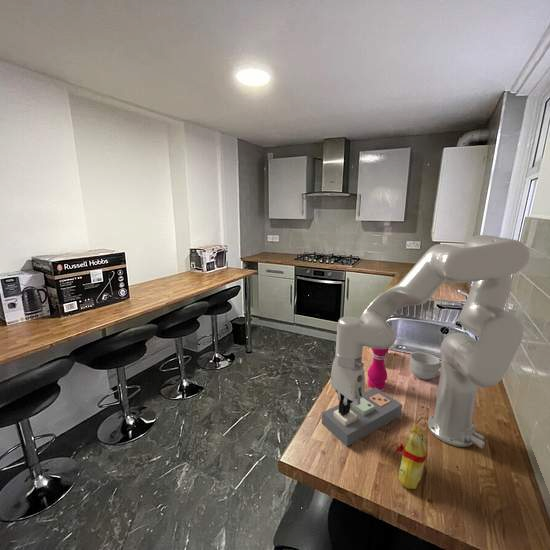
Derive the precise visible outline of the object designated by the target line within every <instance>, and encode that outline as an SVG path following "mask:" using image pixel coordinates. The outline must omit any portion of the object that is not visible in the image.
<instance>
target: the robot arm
mask: <svg viewBox="0 0 550 550" xmlns="http://www.w3.org/2000/svg"><path fill="white" fill-rule="evenodd" d="M530 258H531V256H530V251H529V248H528V247H527V246H526V244H524V243H523V242H521V241H519V240H516V239H513V238H507V237H498V236H496V235H487V234H478V235H473V236H471V237H469V238H468V239H467V240H466V241H465V243H464V245H463V247H459V246H457V245H452V244H448V243H438V244H435V245H432V246H431V247H430V248H429V249H428V250H426V252H425V253H424V254H423V255H422V256H421V257H420V258H419V259H418V261H416V263H415V264H414V265H413V267H412V268H411V269H410V270H409V271H408V272H407V274H405V276H404V277H403V278H402V279H401V280H400V281H399V282H398V283H397V284H396V285H394V286H391V287H390V288H388V289H386V291H383V292H382V293H380V294H378V296H377V297H375V298H374V299H373V300H372V301H371V303H369V305H368V306H367V307H366V309H365V310H364V311H363V312H362V313H361V315H360V318H359V317H356V316H351V315H350V316H348V315H346V316H342V317H340V318H339V319H338V321H337V327H336V344H335V355H334V358H333V360H332V361H333V362H332V365H331V372H330V385H331V386H332V389H333V390H334V391H335V393H336V394H337V400H338V401H339V402H338V405H339V413H340V414H341V415H342V416H343V415H345V414H347V413H349V412H350V403H353V404H354V405H356V406H357V405H359V404H360V397H364V392H366V391H365V387H366V377H365V370H364V368H365V367H364V362H362V361H363V351H364V350H363V349H364V348H363V347H367V348H370V349H371V348H375V349H387V348H389V349H390V348H391V347H392V346H393V345H394V344H396V343H395V342H396V339H397V336H396V332H395V331H394V329H393V327H392V325H390V324H389V322H388V319H390V318H391V317H392V315H394V314H395V313H396V312H397V311H399V310H401V309H402V308H406V307H411V306H412V307H413V306H421V305H425V304H426V303H427V302H428V301H429V300H430V298H432V297H433V296H434V294H435V293H436V292H437V291H438V290H439V289H440V288H441V287H442V286H443V284H445V282H447V281H449V282H451V283H455V284H457V283H459V284H460V283H461V284H462V283H463V284H464V283H472V285H471V287H470V290H469V293H468V295H467V298H466V300H465V301H464V305H463V306H462V308H461V312H460V314H459V316H458V317H459V318H458V319H459V321H458V322H459V323H460V325H461V327H462V328H463V329H465V331H467V332H469V333H470V334H471V336H470V335H469V334H466V333H463V332H453V333H450V334H447V336H445V337H444V338H443V340H442V341H441V344H440V350H439V353H440V363H441V367H440V372H441V373H440V375H439V381H438V388H437V396H436V401H435V408H434V414H432V415H431V416H429V418H428V419H427V427H428V429H429V431H430V432H431V434H432V435H433V436H435V437H436V438H437V439H438V440H441V442H444V443H446V444H448V445H450V446H454V447H462V448H463V447H464V448H465V447H466V448H467V447H470V446H472V445H473V444H474V445H476V446H478V447H479V448H480V449H483V448H484V447H485V445H486V441H484V439H485V436H484V435H482V434H480V433H478V432H476V430H475V426H476V425H475V424H473V423H472V421H473V416H474V415H473V414H474V409H475V404H476V398H477V393H478V389H479V388H478V387H481V388H490V387H492V386H495V385H496V384H499V382H501V380H502V379H503V378H504V377H505V375H506V374H507V371H508V369H509V368H510V365H511V363H512V362H513V360H514V359H515V358H514V357H515V356H516V354H517V352H518V349H519V348H520V346H521V343H522V341H523V337H524V327H523V324H522V322H521V320H520V319H519V318H518V317H517V316H515V315H514V314H513V313H510V312H509V311H507V310H505V308H506V305H507V302H508V300H509V296H510V294H511V291H512V286H513V279H512V278H513V277H512V275H514V274H517V273H519V272H521V271H522V270H523V269H525V268H526V266H527V265H528V263H529V261H530ZM472 335H473V336H474V337H476V338H478V339H475V338H474V337H473V336H472Z"/></svg>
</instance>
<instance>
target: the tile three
mask: <svg viewBox="0 0 550 550" xmlns="http://www.w3.org/2000/svg"><path fill="white" fill-rule="evenodd" d="M369 400H371V401H372V402H373V403H375V404H376V405H378V406H379V407H383V406H385V405H387V404H389V403H390V402H391V401H390V400H388V399H387V398H385V397H384V396H382V395H381V394H379V393H378V394H376V395H374V396H372V397H370V398H369Z"/></svg>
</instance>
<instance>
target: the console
mask: <svg viewBox="0 0 550 550" xmlns="http://www.w3.org/2000/svg"><path fill="white" fill-rule="evenodd" d="M378 393H379V394H381V395H382V396H384V397H385V398H387V399H388V400H390V401H391V402H390V403H389V404H387V405H385V406H383V407H379V406H378V405H376V404H375V403H373V402H372V401H371V400H369V398H370V397H372V396H374V395H376V394H378ZM361 398H364V399H366V400H367V401H368V402H370V403H371V404H373V405H374V406H375V410H374V412H372V413H370V414H368V415H366V416H364V417H363V416H362V415H361V414H359V413H358V412H357V411H356V410H354V409H353V408H352V403H350V410H351V411H352V412H354V413H355V414H356V415H357V421H355V422H353V423H351V424H349V425H348V426H346V427H345V426H343V425H342V424H341V423H340V422H339V421H338V420H336V419H335V418H334V417H333V413H334V411H336V410H338V409H339V404H337V405H334V406H333V407H331V408H328V409H326V410H323V412H321V424H322V425H323V426H324V428H326V429H327V430H328V431H329V432H330V433H331V434H332V435H334V436H335V438H336V439H337V440H338V441H340V442H341V443H342V444H343V445H344V446H345V447H346V448H347V447H349V446H351V445H353V444H354V443H356V442H357V441H359V440H361V439H363V438H364V437H366V436H368V435H369V434H371V433H372V432H375V431H376V430H378V429H379V428H382V427H383V426H385V425H387V424H389V423H390V422H392V421H393V420H396V419H397V418H398V417H401V416H402V411H403V404H402V403H401V402H399V401H398V400H396V399H394V398H393V397H391V396H390V395H389V394H387V393H385V392H383V391H382V390H379V389H377V388H376V387H375V388H371V389H369V390H367V391H365V392H364V397H360V399H361Z"/></svg>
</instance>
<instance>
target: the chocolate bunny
mask: <svg viewBox="0 0 550 550" xmlns="http://www.w3.org/2000/svg"><path fill="white" fill-rule="evenodd" d="M426 440H427V439H426V437H425V435H424V433H423V429H422V427H421V426H420V425H418V424H414V425H413V426H412V427H411V429H410V431H409V436H408V438H407V440H406V441H405V444H404V445H403V443H400V445H397V446H396V450H395V452H394V453H395V454H397V453H398V452H399V453H402V456H401V462H400V466H399V472H398V477H397V478H398V479H397V480H398V481H399V482H400V484H401V485H402V486H403V487H404V488H406V489H410V490H411V489H413V490H416V488H417V486H418V484H419V483H420V481H421V479H422V476H423V474H424V466H425V461H426V459H427V457H428V451H427V441H426Z"/></svg>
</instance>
